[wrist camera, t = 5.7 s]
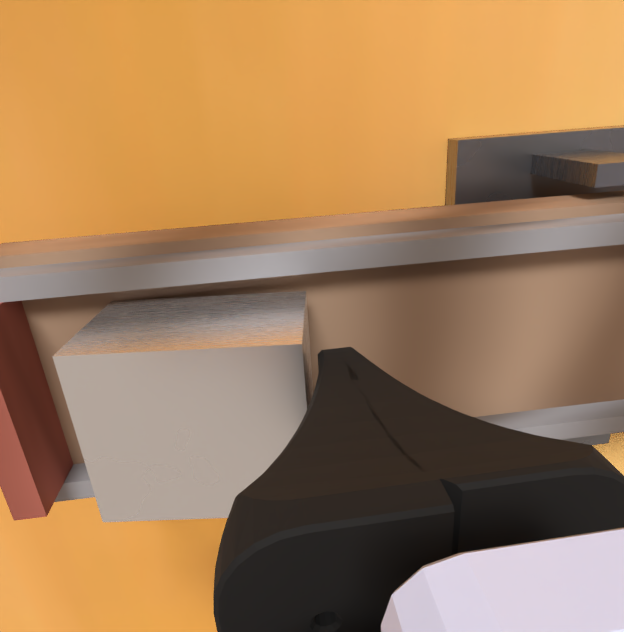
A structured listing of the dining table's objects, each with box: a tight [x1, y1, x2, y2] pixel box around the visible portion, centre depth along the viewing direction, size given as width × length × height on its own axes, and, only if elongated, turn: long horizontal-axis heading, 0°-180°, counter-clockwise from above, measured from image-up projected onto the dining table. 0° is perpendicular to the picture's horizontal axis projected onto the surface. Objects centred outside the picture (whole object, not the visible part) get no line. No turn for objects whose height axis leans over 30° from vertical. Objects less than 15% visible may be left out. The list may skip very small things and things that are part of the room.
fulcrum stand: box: [445, 125, 624, 445], centre depth 16 cm, size 7×10×4 cm
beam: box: [0, 190, 624, 520], centre depth 14 cm, size 23×7×4 cm, turn 94°
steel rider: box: [52, 291, 313, 522], centre depth 12 cm, size 5×4×3 cm
